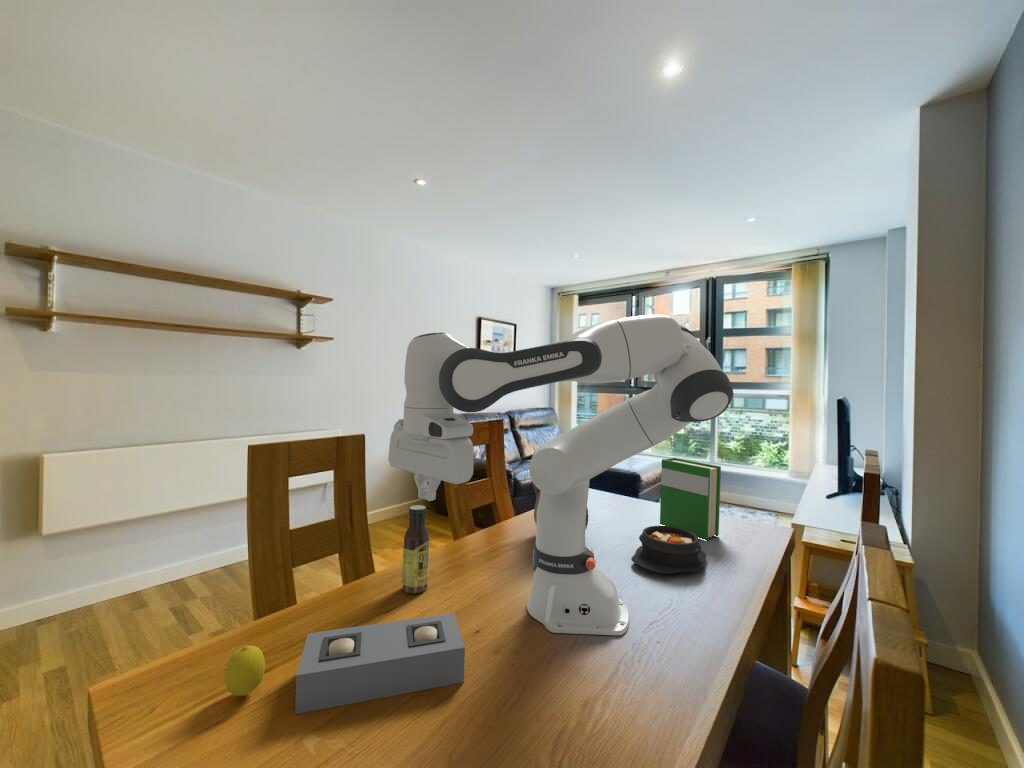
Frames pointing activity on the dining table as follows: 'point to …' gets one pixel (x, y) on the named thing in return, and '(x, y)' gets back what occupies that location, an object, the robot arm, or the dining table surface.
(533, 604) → the robot arm
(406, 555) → the sauce bottle
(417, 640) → the peg inner
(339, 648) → the peg outer
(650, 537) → the casserole
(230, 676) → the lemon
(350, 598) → the dining table surface
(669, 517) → the hardback book
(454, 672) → the peg block
